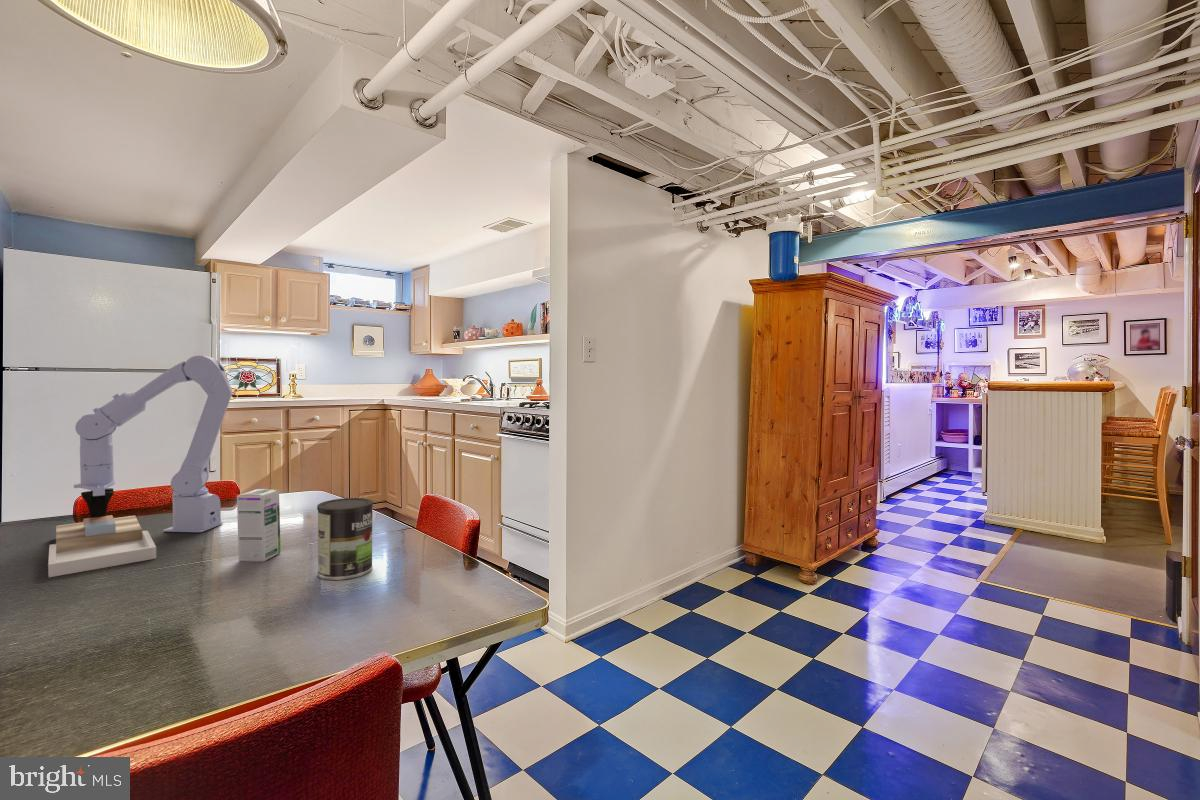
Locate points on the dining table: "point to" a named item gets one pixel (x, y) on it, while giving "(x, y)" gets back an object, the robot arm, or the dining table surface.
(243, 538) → the syrup box
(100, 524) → the slate tile
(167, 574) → the dining table surface
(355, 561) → the coffee can
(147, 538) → the tray
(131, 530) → the birch board
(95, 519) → the terracotta tile
